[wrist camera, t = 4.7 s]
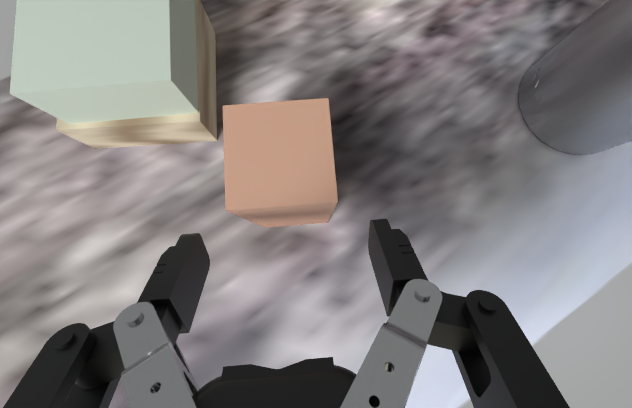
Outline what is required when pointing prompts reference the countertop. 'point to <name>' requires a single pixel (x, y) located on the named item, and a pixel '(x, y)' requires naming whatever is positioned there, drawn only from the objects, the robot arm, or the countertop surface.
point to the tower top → (106, 58)
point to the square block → (279, 162)
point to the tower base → (163, 127)
